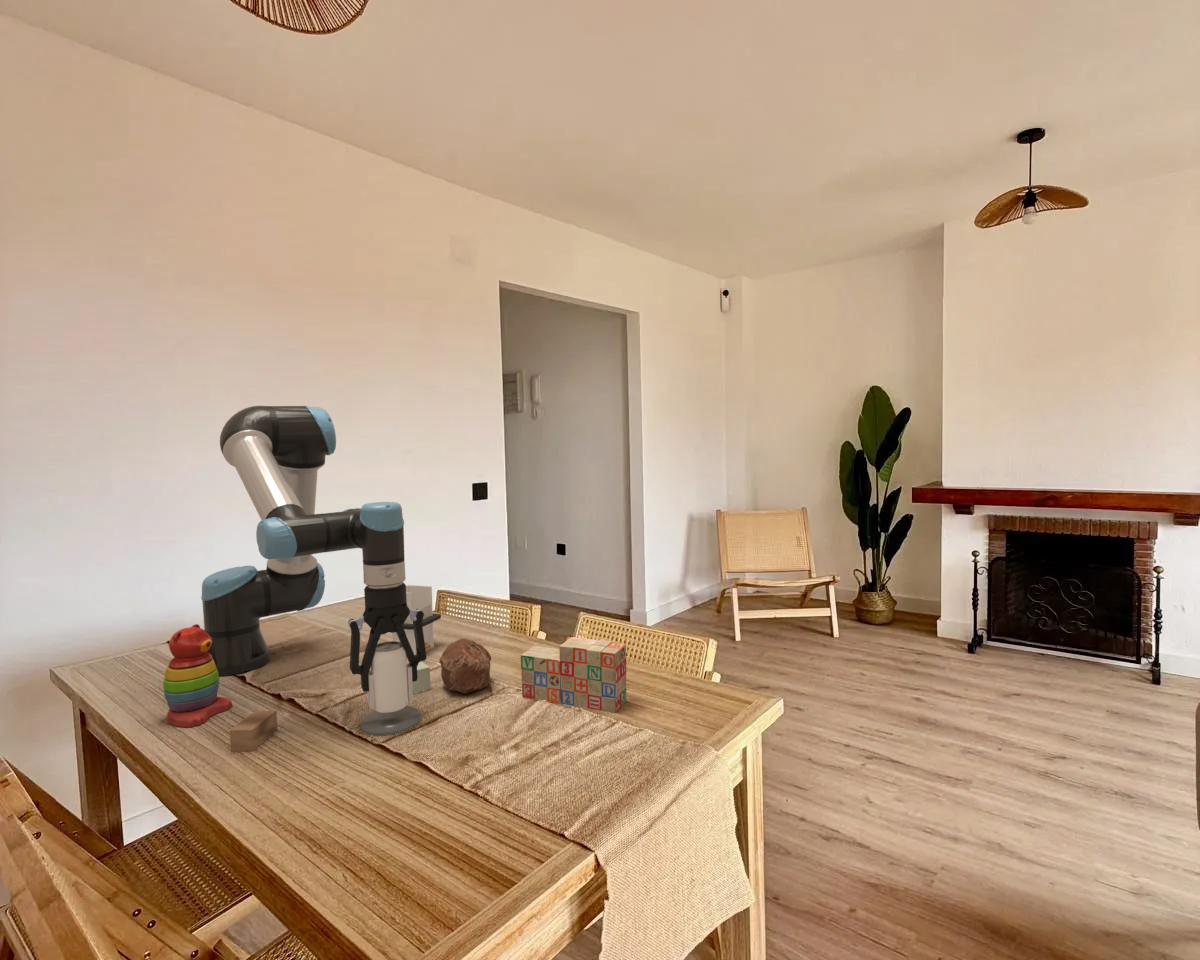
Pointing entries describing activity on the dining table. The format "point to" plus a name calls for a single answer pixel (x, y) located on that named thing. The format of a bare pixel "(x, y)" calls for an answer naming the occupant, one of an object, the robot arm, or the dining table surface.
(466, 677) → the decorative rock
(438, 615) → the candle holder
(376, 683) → the can
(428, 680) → the sage block
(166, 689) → the stacking bear
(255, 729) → the walnut block
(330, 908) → the dining table surface
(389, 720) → the slate coaster
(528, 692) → the stack of blocks
